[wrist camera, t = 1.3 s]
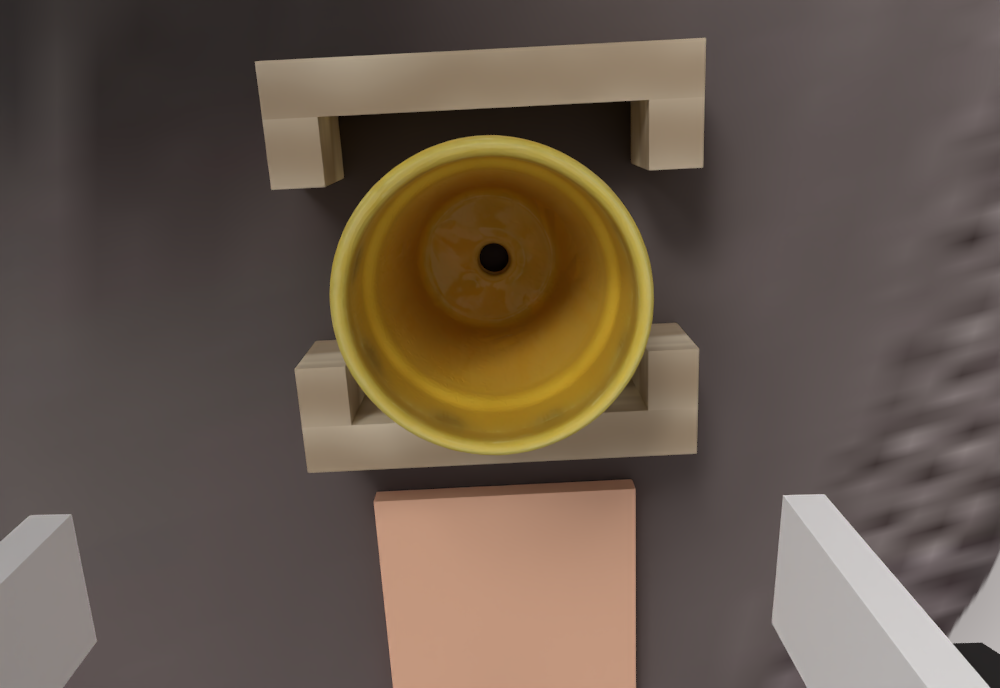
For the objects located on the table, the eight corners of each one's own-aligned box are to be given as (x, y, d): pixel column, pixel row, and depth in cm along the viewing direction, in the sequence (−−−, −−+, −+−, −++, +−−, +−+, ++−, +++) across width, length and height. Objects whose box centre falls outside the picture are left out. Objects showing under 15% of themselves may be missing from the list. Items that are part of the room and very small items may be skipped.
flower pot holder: (282, 66, 32) (254, 61, 28) (680, 46, 32) (705, 37, 28) (326, 434, 37) (307, 472, 33) (675, 417, 37) (696, 453, 33)
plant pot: (640, 160, 33) (697, 181, 24) (578, 388, 36) (609, 486, 27) (395, 103, 33) (356, 101, 23) (352, 340, 35) (302, 424, 26)
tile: (376, 491, 37) (373, 501, 36) (631, 479, 37) (635, 488, 36) (398, 703, 41) (396, 718, 40) (632, 692, 41) (635, 706, 40)
